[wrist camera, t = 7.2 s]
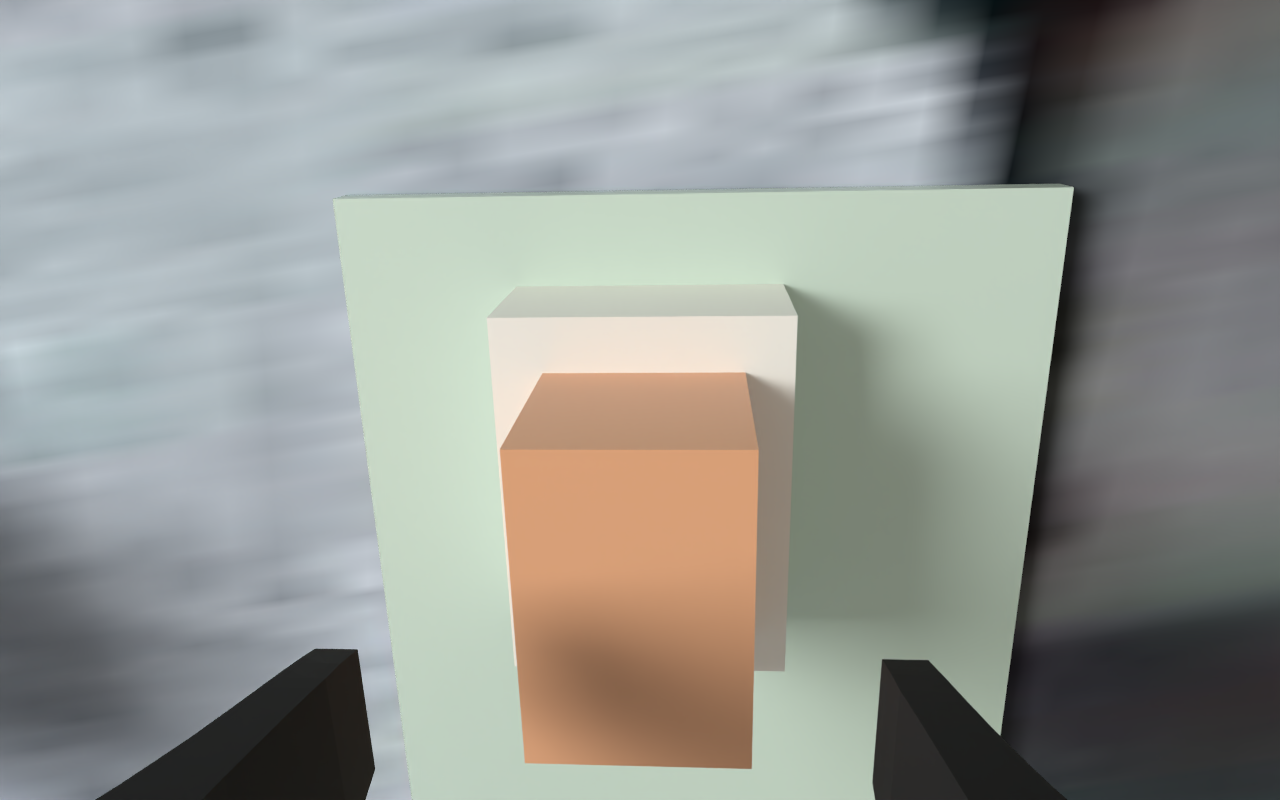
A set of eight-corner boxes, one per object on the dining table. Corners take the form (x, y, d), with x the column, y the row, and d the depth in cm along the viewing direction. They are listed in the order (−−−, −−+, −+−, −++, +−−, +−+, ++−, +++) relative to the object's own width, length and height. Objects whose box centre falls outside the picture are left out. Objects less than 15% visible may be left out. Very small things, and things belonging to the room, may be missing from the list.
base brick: (773, 598, 22) (784, 671, 19) (537, 594, 23) (514, 666, 20) (783, 284, 20) (797, 315, 17) (516, 286, 20) (486, 317, 17)
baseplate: (962, 936, 26) (970, 961, 26) (437, 916, 28) (430, 939, 27) (1059, 183, 19) (1073, 187, 19) (346, 195, 20) (332, 198, 20)
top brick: (740, 636, 19) (751, 769, 15) (558, 634, 19) (524, 763, 16) (745, 372, 17) (758, 450, 13) (542, 373, 18) (499, 449, 14)
